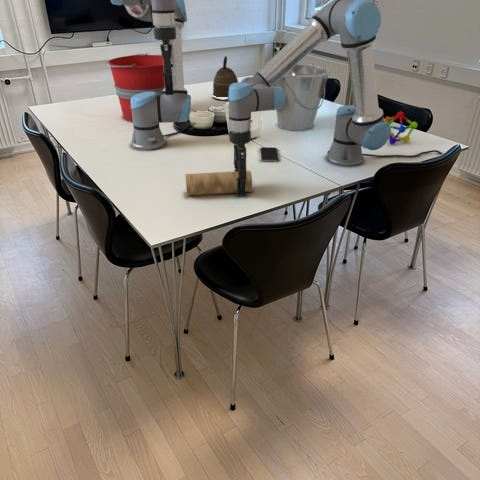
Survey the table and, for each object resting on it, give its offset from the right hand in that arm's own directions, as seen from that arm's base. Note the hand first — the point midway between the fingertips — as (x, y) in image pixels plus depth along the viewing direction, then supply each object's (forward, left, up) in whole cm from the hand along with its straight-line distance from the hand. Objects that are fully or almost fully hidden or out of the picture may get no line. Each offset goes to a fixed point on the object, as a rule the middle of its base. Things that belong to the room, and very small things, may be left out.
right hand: (239, 190), depth 165 cm
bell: (-72, -117, -1) cm, 137 cm away
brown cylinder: (+7, -4, 0) cm, 8 cm away
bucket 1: (-13, -109, -1) cm, 110 cm away
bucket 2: (-70, -49, -1) cm, 85 cm away
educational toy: (-91, -1, -1) cm, 92 cm away
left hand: (+11, -30, +32) cm, 45 cm away
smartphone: (-32, -23, -1) cm, 39 cm away
